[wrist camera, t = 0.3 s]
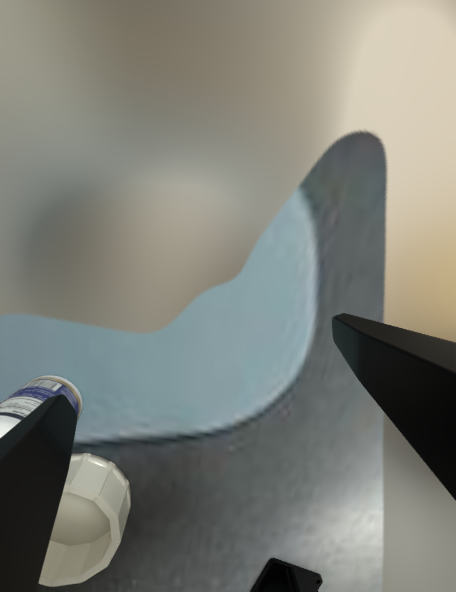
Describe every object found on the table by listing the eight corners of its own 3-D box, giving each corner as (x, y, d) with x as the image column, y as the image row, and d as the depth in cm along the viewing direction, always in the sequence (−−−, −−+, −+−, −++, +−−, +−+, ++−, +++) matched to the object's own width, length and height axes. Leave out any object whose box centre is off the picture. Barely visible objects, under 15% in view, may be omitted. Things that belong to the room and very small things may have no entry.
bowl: (104, 555, 27) (90, 599, 23) (7, 524, 25) (-24, 566, 22) (148, 474, 26) (140, 508, 22) (50, 437, 24) (26, 467, 21)
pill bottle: (52, 441, 24) (-44, 559, 15) (6, 400, 24) (-127, 498, 14) (97, 403, 24) (31, 497, 15) (53, 361, 24) (-48, 432, 14)
